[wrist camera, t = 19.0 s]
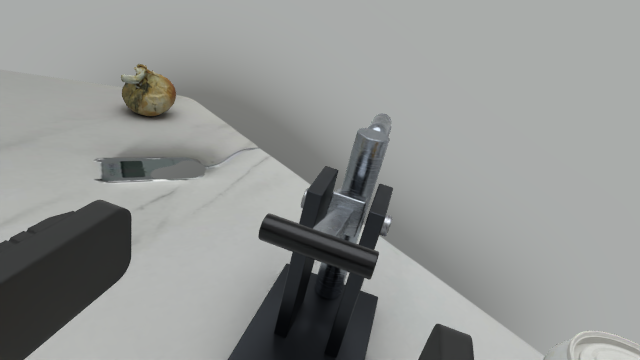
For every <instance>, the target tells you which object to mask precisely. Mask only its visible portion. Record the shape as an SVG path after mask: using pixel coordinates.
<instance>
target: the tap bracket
mask: <svg viewBox="0 0 640 360" xmlns="http://www.w3.org/2000/svg"><path fill="white" fill-rule="evenodd" d="M337 173H338V170H337V169H333V168H330V167H327V166H325V167H324V169H323V170H322V171H321V173H320V174H319V175H318V177H317V178H316V179H315V181H314V182H313V183H312V185H311V186H310V187H309V188H308V189H307V190H306V191H305V193H304V195H303V198H302V202H301V208H303V210H302V214H301V218H300V223H299V224H301V225H304V226H307V227H310V228H314V227H315V226H316V225H317V224H318V223H319V222H320V221H321V220H323V219H324V218H325V216H326V212H327V209H328V206H329V203H330V200H331V196H332V193H333V189H334V185H335V181H336V178H337ZM392 191H393V188H392V187H389V186H386V185H383V184H379V186H378V189H377V192H376V195H375V197H374V200H373V203H372V206H371V209H370V211H369V214H368V217H367V221H366V224H365V227H364V230H363V233H362V236H361V239H360V242H359V245H361V246H364V247H367V248H370V249H372V250H374V249H375V246H376V243H377V240H378V237H379V235H382V236H386V235H387V233H388V230H389V227H390V224H391V221H392V216H389V215H386V213H387V209H388V206H389V202H390V198H391V195H392ZM313 264H314V259H312V258H309V257H306V256H303V255H301V254H298V253H295V252H293V253H292V257H291V262H290V264H286V265H285V267H284V269H283V270H282V272H281V273H280V275H279V277H278V278H277V280H276V282H275V283H274V285H273V287H272V288H271V290H270V291H269V293H268V295H267V296H266V298H265V300H264V301H263V303H262V305H261V306H260V308H259V309H258V311H257V313H256V314H255V316H254V318H253V319H252V321H251V323H250V324H249V326H248V328H247V329H246V331H245V332H244V334H243V336H242V337H241V339H240V341H239V342H238V344H237V346H236V347H235V349H234V350H233V352H232V354H231V355H230V357H229V359H228V360H365V355H366V351H367V346H368V342H369V337H370V333H371V328H372V324H373V319H374V314H375V310H376V305H377V301H378V297H376V296H374V295H371V294H368V293H366V292H363V291H360V289H361V286H362V284H363V281H364V277H361V276H358V275H356V274H353V273H349V277H348V280H347V283H346V285H344V284H343V288H342V291H341V294H340V295H339V297H337V298H335V299H326V298H323V297H321V296H320V295H318V294H317V292H316V291H315V283H316V279H317V274H314V273H311V272H312V268H313Z"/></svg>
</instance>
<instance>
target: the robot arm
mask: <svg viewBox="0 0 640 360" xmlns="http://www.w3.org/2000/svg"><path fill="white" fill-rule="evenodd" d="M130 260H131V213H130V211H129V210H127V209H125V208H122V207H119V206H117V205H114V204H111V203H109V202H106V201H103V200H97V201H94V202H92V203H90V204H88V205H87V206H85V207H83V208H81V209H79V210H77V211H76V212H74V211H71V212H68V213H64V214H60V215H57V216H53V217H50V218H47V219H45V220H43V221H41V222H40V223H38V224H36V225H34V226H32V227H30V228H28V230H27V231H26V232H25V231H23V232H21V233H19V234H17V235H15V236H13V237H11V238H10V240H9V241H6V240H5V241H4V242H2V243H0V360H24V359H25V358H26V357H27V356H29V355H30V354H31V353H32V352H33V351H35V350H36V349H37V348H38V347H39V346H41V345H42V344H43V343H44V342H45V341H47V340H48V339H49V338H50V337H51V336H53V335H54V334H55V333H56V332H57V331H59V330H60V329H61V328H62V327H63V326H65V325H66V324H67V323H68V322H69V321H71V320H72V319H73V318H74V317H75V316H76V315H78V314H79V313H80V312H81V311H82V310H84V309H85V308H86V307H87V306H88V305H90V304H91V303H92V302H93V301H94V300H96V299H97V298H98V297H99V296H100V295H102V294H103V293H104V292H105V291H106V290H108V289H109V288H110V287H111V286H112V285H114V284H115V283H116V282H117V281H118V280H119V279H120V278H121V277H122V276H123V275H124V273H125V272H126V270H127V268H128V266H129V264H130ZM418 360H474V354H473V343H472V338H471V336H470V335H468V334H465V333H462V332H459V331H457V330H454V329H451V328H449V327H446V326H443V325H441V324H436V325H435V326H434V328H433V330H432V332H431V334H430V336H429V338H428V340H427V342H426V345H425V347H424V349H423V351H422V353H421V355H420V357H419V359H418Z"/></svg>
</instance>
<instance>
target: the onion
mask: <svg viewBox="0 0 640 360" xmlns="http://www.w3.org/2000/svg"><path fill="white" fill-rule="evenodd" d="M134 69H135V70H136V72H137V74H136V76H129V75H121V79H122V81H123V82H125V85H124V87H123V89H122V97H123V100H124V102H125V103H126V105H127V106H128V107H129V108H130V109H131V110H132V111H133V112H135V113H138V114H140V115H145V116H157V115H160V114H161V113H164V112H165V111H167V110H168V109H169V108H170V107H171V106H172V105H173V104H174V101H175V98H176V92H175V88H174V86H173V84H172V83H171V82H170V81H169V80H168V79H167V78H165V77H163V76H162V75H159V74H156V73H154V72H153V71H152V72H151V71H149V70H148V69H147V67H146V66H144V65H141V64H140V65H139V64H138V65H137V68H136V67H135V68H134Z"/></svg>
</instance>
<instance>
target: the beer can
mask: <svg viewBox="0 0 640 360" xmlns="http://www.w3.org/2000/svg"><path fill="white" fill-rule="evenodd" d="M543 360H640V345H639V344H637V343H635V342H633V341H631V340H628V339H626V338H623V337H620V336H617V335H614V334H610V333H606V332H600V331H585V332H581V333H579V334H577V335H576V336H575V337H574V338H573V339H571V340H568V341H565V342H562V343H560V344H557V345H555V346H554V347H552V348H551V349H550V350H549V352H548V353H547V355H546V356H545V357H544V359H543Z"/></svg>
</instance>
